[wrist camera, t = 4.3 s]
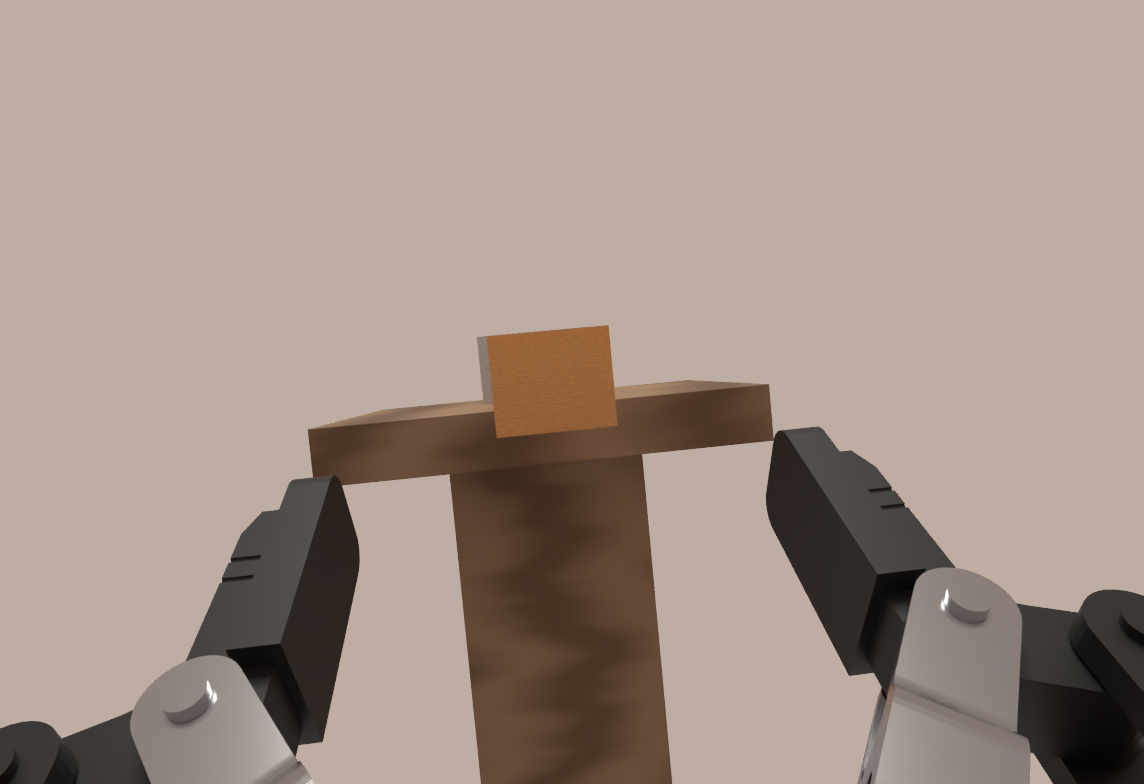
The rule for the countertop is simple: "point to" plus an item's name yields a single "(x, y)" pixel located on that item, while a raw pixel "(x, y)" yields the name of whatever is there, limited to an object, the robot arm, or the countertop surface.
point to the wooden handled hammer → (548, 380)
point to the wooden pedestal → (555, 566)
